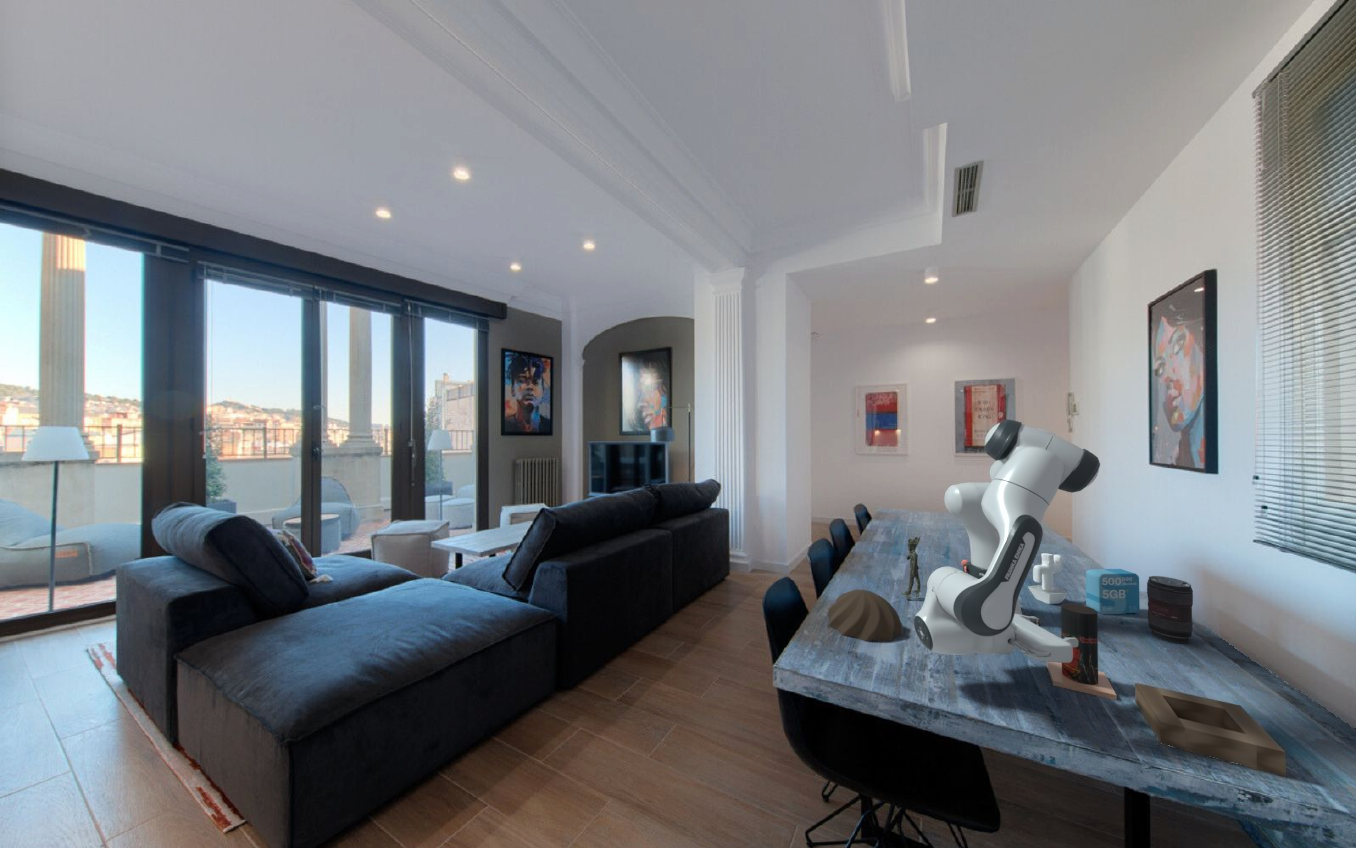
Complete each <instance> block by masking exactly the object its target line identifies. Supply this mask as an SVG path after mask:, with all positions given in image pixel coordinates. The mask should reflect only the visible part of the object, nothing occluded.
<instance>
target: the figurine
mask: <svg viewBox="0 0 1356 848" xmlns="http://www.w3.org/2000/svg"><path fill="white" fill-rule="evenodd" d="M1040 555H1041V564H1037V565H1036V564H1035V565H1033V568H1032V577H1033V578H1032V579H1033V582H1035V583H1038V584H1037V585H1028V586H1027V587H1028V589H1029V591H1030V592H1031V595H1033V597H1034V598H1035V599H1036V600H1038V601H1040V602H1042V603H1045V604H1047V605H1054V604H1062V602H1063V601H1064V600H1065V599H1066V598H1067V596H1068V595H1069V594H1070V592H1069V591H1065V590H1063V589H1060V588H1057V587H1055V586H1054V581H1055V580H1054V574H1055V573H1056V574H1058V573H1061V572H1062V571H1063V556H1061V555H1060V554H1051V553H1046V552H1045V553H1044V552H1043V553H1040ZM1039 584H1040V585H1039Z"/></svg>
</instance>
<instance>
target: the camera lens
mask: <svg viewBox="0 0 1356 848" xmlns="http://www.w3.org/2000/svg"><path fill="white" fill-rule="evenodd" d="M1193 592H1194V590H1193V588H1192V585H1191V583H1189V582H1188V581H1185V580H1181V579H1178V578H1174V577H1168V576H1162V575H1161V576H1160V575H1152V576H1148V579H1147V583H1146V594H1147V600H1148V601H1147V608H1148V609H1147V610H1148V611H1147V621H1148V627H1149V628H1150V631H1151V635H1152V636H1153V637H1156V638H1157V639H1160V640H1163V641H1166V642H1171V643H1175V644H1190V639H1191V637H1192V635H1193V628H1194V627H1193V624H1194V623H1193V604H1194V603H1193V602H1194V593H1193Z"/></svg>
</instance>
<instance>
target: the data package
mask: <svg viewBox="0 0 1356 848" xmlns="http://www.w3.org/2000/svg"><path fill="white" fill-rule="evenodd" d="M1140 601H1141V600H1140V577H1139V575H1138V574H1137V573H1135V572H1132V571H1129V570H1126V569H1122V568H1093V569H1092V568H1091V569H1088V570H1086V572H1085V604H1086V605H1085V606H1087V607H1090V608H1093V609H1095V610H1096V611H1097V613H1099V614H1102V615H1127V614H1126V613H1136V614H1138V613H1139V611H1140V610H1141V609H1140V607H1141V605H1140Z"/></svg>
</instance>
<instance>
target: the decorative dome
mask: <svg viewBox="0 0 1356 848" xmlns="http://www.w3.org/2000/svg"><path fill="white" fill-rule="evenodd" d="M827 618H828V620H829V622H828V625H827V626H828V627H830V628H831V629H834V630H837V631H836V632H838V633H839V634H840V635H841V636H845V637H849V638H850V637H851V638H855V639H858V640H860V641H862V642H874V641H882V642H892V640H893V639H894V638H896V637H899V636H902V635H903V633H902V632H903V630H902V629H903V627H902V621H901V618H900V616H899V614H898V613H897V610H896V609H895V608H894V606H893V605H891V603H889V602H888V600H887V599H885V598H884V597H882V596H881V595H879V594H877V593H875V592H873V591H871V590H865V589H853V590H851V591H847V592H845V593H842V594H841V595H839V596H838V597H837V598H836V599H835V602H834V604H833V605H831V606H830V608H828V610H827Z"/></svg>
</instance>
